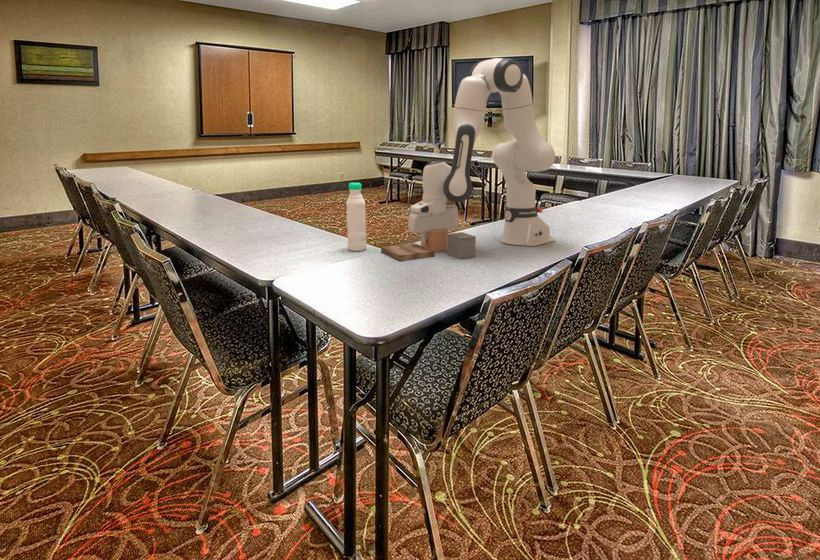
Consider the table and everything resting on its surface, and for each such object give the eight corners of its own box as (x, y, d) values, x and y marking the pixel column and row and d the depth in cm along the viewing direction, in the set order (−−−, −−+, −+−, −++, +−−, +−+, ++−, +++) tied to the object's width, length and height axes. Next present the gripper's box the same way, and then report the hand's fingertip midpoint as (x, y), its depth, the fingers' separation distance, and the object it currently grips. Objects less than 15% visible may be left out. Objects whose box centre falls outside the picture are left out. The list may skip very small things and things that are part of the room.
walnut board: (414, 248, 198) (414, 243, 198) (434, 256, 186) (434, 251, 185) (381, 252, 192) (381, 247, 191) (399, 261, 179) (399, 255, 179)
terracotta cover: (435, 245, 202) (435, 226, 200) (446, 250, 195) (447, 230, 193) (420, 247, 199) (420, 228, 197) (432, 252, 192) (432, 232, 190)
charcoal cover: (461, 252, 192) (462, 232, 190) (475, 257, 184) (475, 236, 182) (447, 254, 189) (447, 233, 187) (460, 259, 182) (460, 238, 179)
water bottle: (363, 252, 192) (361, 184, 185) (345, 251, 194) (342, 183, 187) (368, 248, 199) (367, 182, 192) (351, 247, 200) (348, 181, 193)
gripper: (453, 202, 200) (452, 238, 204) (406, 206, 190) (406, 243, 194) (462, 204, 194) (461, 241, 198) (414, 209, 185) (414, 246, 189)
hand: (434, 242), depth 196 cm, fingers closed on terracotta cover, 6 cm apart
